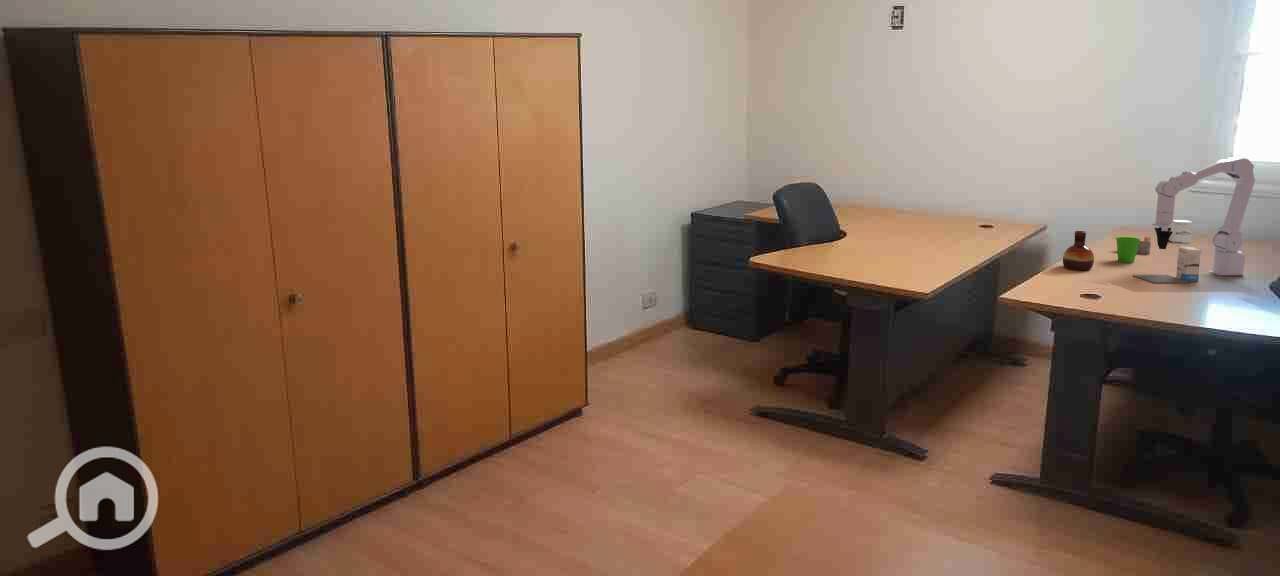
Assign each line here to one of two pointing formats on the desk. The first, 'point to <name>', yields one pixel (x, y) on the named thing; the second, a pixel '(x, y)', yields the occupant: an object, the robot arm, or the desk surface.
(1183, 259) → the ink box
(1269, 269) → the desk surface
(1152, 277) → the mat
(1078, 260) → the vase
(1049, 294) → the desk surface
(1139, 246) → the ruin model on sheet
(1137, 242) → the cup
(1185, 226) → the supplement box
